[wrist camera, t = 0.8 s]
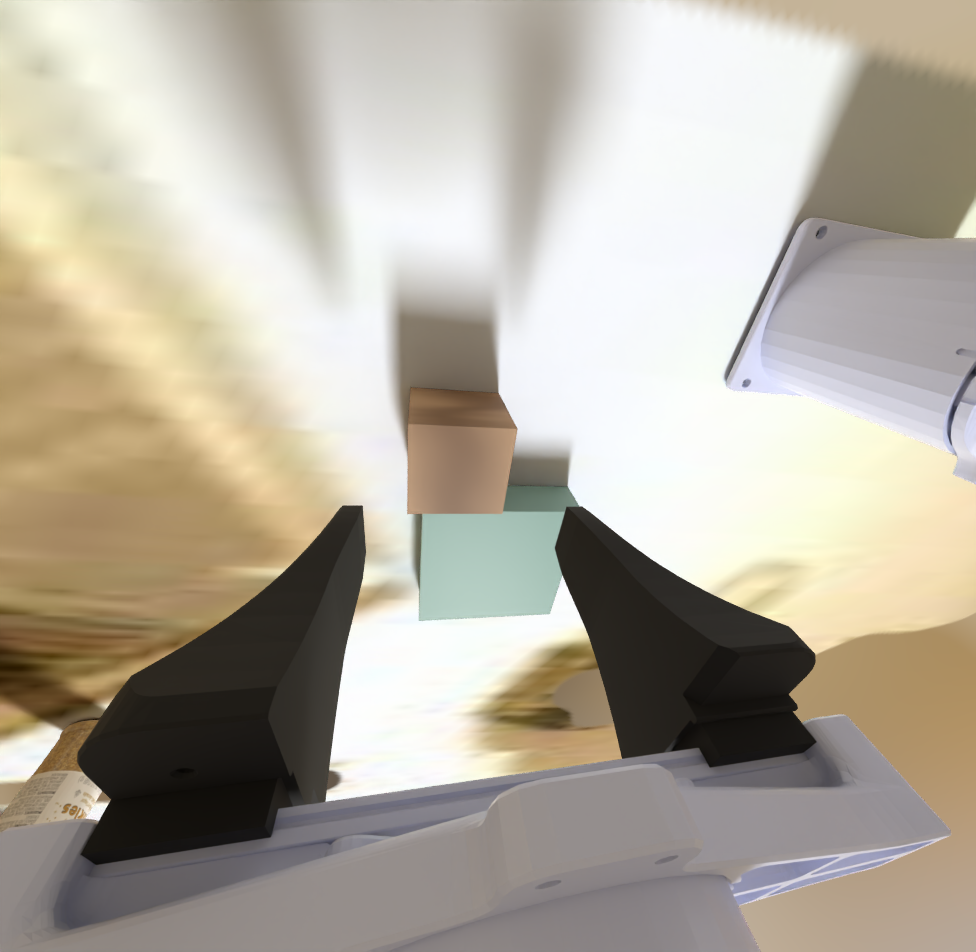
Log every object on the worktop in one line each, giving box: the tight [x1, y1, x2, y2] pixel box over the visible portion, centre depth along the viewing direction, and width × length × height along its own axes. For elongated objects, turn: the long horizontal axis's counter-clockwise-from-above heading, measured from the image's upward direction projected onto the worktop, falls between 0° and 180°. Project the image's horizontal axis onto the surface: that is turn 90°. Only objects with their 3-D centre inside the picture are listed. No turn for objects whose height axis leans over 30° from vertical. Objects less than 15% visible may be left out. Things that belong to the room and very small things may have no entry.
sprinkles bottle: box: [0, 720, 102, 832], centre depth 23 cm, size 5×5×14 cm
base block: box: [419, 485, 579, 621], centre depth 23 cm, size 9×9×3 cm
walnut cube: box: [407, 387, 517, 514], centre depth 18 cm, size 4×4×4 cm
